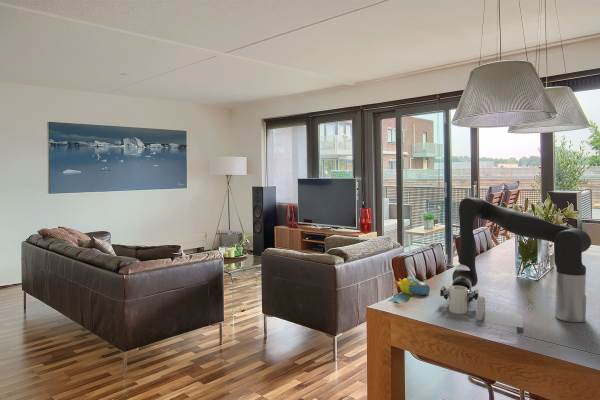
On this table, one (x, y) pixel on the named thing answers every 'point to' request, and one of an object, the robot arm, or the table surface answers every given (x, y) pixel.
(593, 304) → the table surface
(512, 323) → the shaft board
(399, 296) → the blue and yellow toy
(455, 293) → the keyed collar
